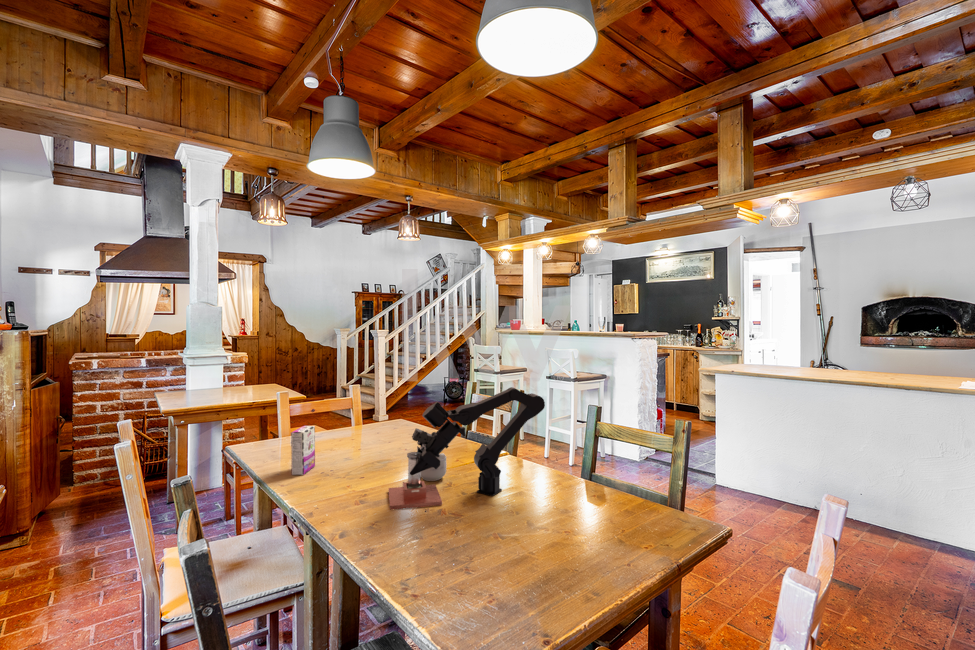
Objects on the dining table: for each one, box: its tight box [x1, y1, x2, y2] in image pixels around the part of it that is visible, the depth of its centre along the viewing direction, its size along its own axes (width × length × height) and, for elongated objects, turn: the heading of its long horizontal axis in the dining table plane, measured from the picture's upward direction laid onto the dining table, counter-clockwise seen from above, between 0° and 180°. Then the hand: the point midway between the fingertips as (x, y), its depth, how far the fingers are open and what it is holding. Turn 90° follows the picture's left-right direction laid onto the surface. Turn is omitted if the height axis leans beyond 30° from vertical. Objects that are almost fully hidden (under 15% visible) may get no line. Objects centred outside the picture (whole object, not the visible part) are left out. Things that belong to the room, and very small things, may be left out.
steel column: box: [406, 451, 422, 488], centre depth 149 cm, size 5×5×13 cm
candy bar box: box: [290, 425, 316, 476], centre depth 176 cm, size 11×5×16 cm, turn 179°
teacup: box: [421, 452, 447, 482], centre depth 169 cm, size 14×11×8 cm
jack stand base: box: [388, 480, 443, 511], centre depth 148 cm, size 16×16×4 cm
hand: (410, 472), depth 148 cm, fingers closed on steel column, 4 cm apart
